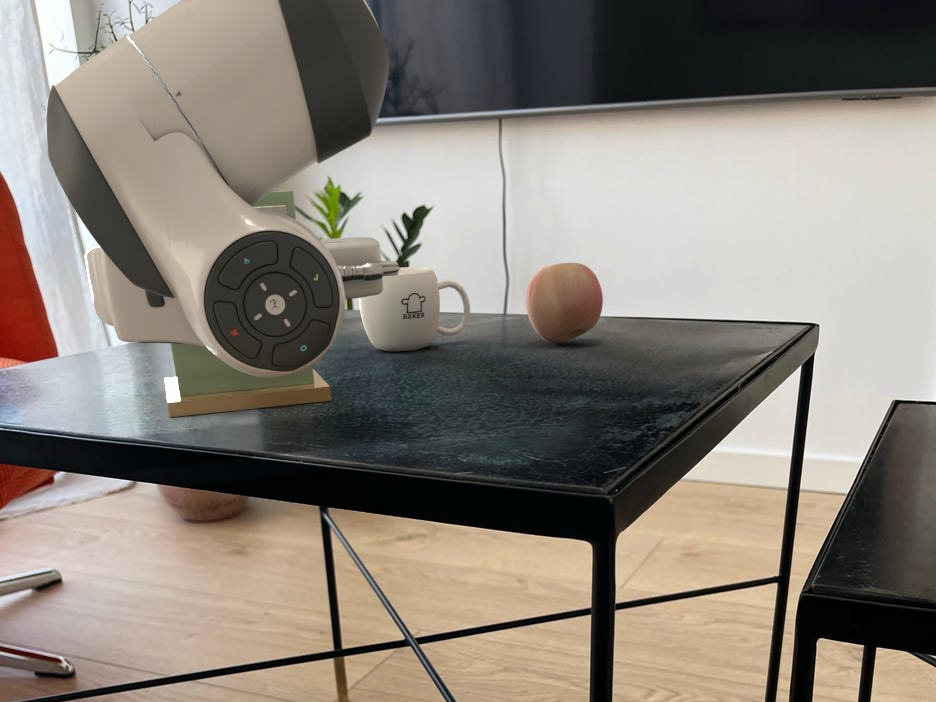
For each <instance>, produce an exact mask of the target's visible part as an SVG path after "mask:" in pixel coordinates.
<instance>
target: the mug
mask: <svg viewBox="0 0 936 702" xmlns="http://www.w3.org/2000/svg"><path fill="white" fill-rule="evenodd" d="M399 268H400V270H399V271H398V272H399V274H398V275H394V276H383V291H382V292H381V293H380V294H378V295H373V296H368V297H362V298H358V304H359V305H358V306H359V312H360V316H361V320H362V324H363V325H362V326H363V327H364V330H365V333H366V335H367V338H368V340H369V341H370V343H371V344H372V345H373V346H374V347H375V348H376V349H377V350H380V351H384V352H411V351H418V350H422V349H424V348H426V347H428V346H430V345H431V344H432V342H433V341H434V339H435V337H436V334H437V333H438V334H440V335H443V336H448V337H450V336H451V337H452V336H456V335H458V334H460V333H461V332H463V331H464V330H465V328H466V327H467V325H468V324H469V320H470V316H471V304H470V298H469V296H468V294H467V292H466V290H465V288H464V287H463V286H462V285H461V284H460V283H459V282H457V281H455V280H449V279H446V280H443V281H440V282H438V278H437V275H436V273H435V272H434V271H435V270H434V269H431V268H430V267H423V266H421V267H420V266H408V267H406V266H405V267H404V266H403V267H399ZM447 288H451V289H454V290H455V291H456V292H457V293H458V294H459V297H460V298H461V301H462V305H463V313H462V314H463V315H462V319H461V321H460V323H459V324H458V325H457V326H456V327H453V328H445V327H443V326H441V325H439V320H440V313H441V312H440V311H441V298H440V290H443V289H447Z"/></svg>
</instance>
